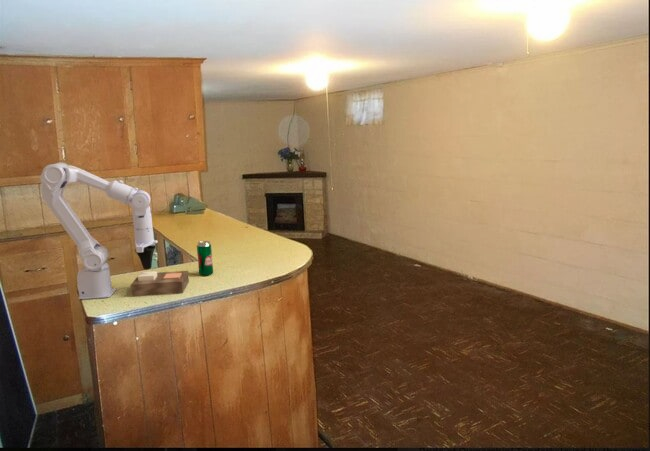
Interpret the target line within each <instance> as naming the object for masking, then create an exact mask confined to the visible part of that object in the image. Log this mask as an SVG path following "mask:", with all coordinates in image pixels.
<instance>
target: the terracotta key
mask: <svg viewBox="0 0 650 451" xmlns="http://www.w3.org/2000/svg"><path fill="white" fill-rule="evenodd" d="M181 276H182V273H172V274H166V275H165V277H164V278H163V280H166V279H180V277H181Z"/></svg>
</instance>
